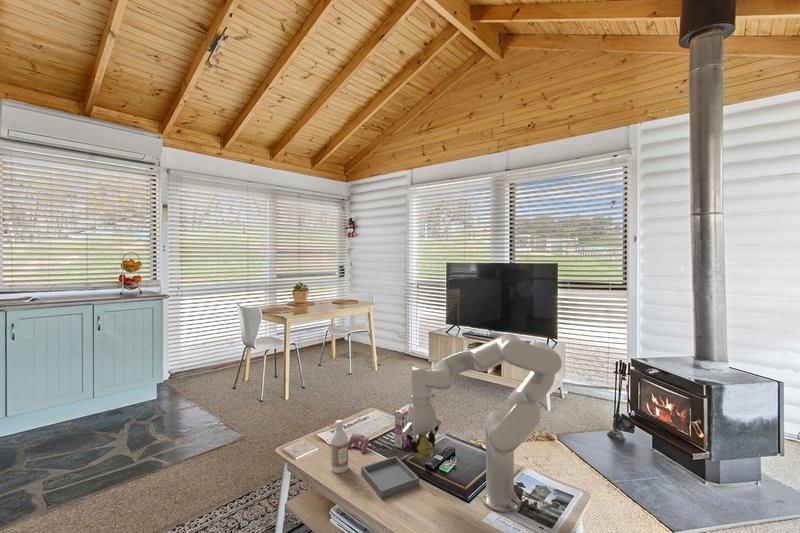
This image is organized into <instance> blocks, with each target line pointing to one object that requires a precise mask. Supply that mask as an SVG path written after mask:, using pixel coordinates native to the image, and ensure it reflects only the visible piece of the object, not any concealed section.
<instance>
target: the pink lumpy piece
mask: <svg viewBox="0 0 800 533" xmlns="http://www.w3.org/2000/svg"><path fill="white" fill-rule="evenodd" d="M369 444H370V439H369V438H368V437H367V436H365V435H363V434H359V433H353V435H351V436H350V438H349V439H348V449H350V448H351V446H353V447H355V448H358V447H359V449H360V450H361V451H360V453H361V454H364V453H365V452H366V451H367V448H368V446H369Z"/></svg>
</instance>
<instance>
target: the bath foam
mask: <svg viewBox="0 0 800 533" xmlns="http://www.w3.org/2000/svg"><path fill="white" fill-rule="evenodd" d="M334 424H335V427H334V428H335V430H334V431H333V433H332V435H331V437H330V464H331V465H330V466H331V467H330V469H331V472H333V473H335V474H342V473H345V472H347V471H348V469H349V448H348V441H349V438H348V435H347V433H346V432H345V430H344V427H343V420H342V419H337V420H335V423H334Z"/></svg>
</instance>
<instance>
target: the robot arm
mask: <svg viewBox="0 0 800 533" xmlns="http://www.w3.org/2000/svg"><path fill="white" fill-rule="evenodd" d="M503 363H507V364H508V365H511V366H514V367H516V368H520V369H524V370H526V371H528V373H527V375H526V376H525V377H524V379H523V380H522V381H520V383H519V384H518V385H517V386H516V387H515V388H514V389H513V391H512V392H511V393H510V394H509V395H508V397H507V398H506V401H505V402H506V403H505V404H506V407H507V408H506V409H507V410H508V412H506V411H504V410H501V409H494V410H492V411H489V413H487V415H486V418H485V422H484V429H485V430H484V433H485V454H486V455H485V471H486V472H485V473H486V474H485V475H486V477H485V481H486V482H485V483H486V484H485V487H486V488H485V489H484V490H483V491H482V493H481V499H482V502H483V504H484V505H486V507H488V508H489V509H491V510H493V511H496V512H501V513H508V512H512V511H515V512H516V513H517V512H519V510H520V507H521V506H522V502H521V501H520V500H519V497H518V495H517V492H516V491H515V456H514V455H515V450H516V449H517V448H518V447H520V445H521V444H522V443H524V441H525V440H526V439H527V437H529V436H530V434H531V433H532V432H533V431H534V430H535V429H536V428H537V426H538V425H539V423H540V420H541V410H540V408H539V404H540V403H541V402H542V400H543V399H544V398H545V397H546V395H547V394H548V393H549V392H550V390H551V389H552V387H553V385H554V382H555V378H556V374H558V373H559V372H560V370H561V369H562V365H563V362H562V358H561V356H560V355H559V353H557V351H556V350H554V349H553V348H552V347H551V346H550V345H549V344H547V343H545V342H543V341H537V342H534V343H533V344H531V343H527V342H525V341H522V340H521V339H520V338H519V336H517V335H515V334H513V333H506V334H505V333H504V334H502V335H500V336H498V337H495V338H493V339H491V340H489V341H487V342H485V343H482V344H481V345H479V346H476V347H473V348H471V349H467V350H463V351H460V352H457V353H453V354H451V355H449V356H447V357H445V358H443V359H440V360H438V361H437V362H436V363H435V364H434V365H433V368H432V367H431V366H430V365H427V364H424V363H423V364H422V363H421V364H415V365H413V366H412V367H411V368H410V388H411V389H410V390H411V392H410V393H411V401H410V402H411V403H409V409H408V416H407V426H406V427H405V428H404V429H403V431H402V433H403V434H404V435H405V437H406V438H408V439H409V445H408V446H409V450H410V451H411V452H412V454H413V453H416V442H415V439H416V438H417V437H418V434H420V433H423V432H427V431H429V433H428V434H427V438H428V439H430V440H431V441H432V443H433V445H432V448H434V447H436V436H437V432H438V431H439V429H440V426H441V424H442V421H441V420H440V419H438V418H437V417H436V416H437V415H436V409H435V408H436V407H435V403H434V401H433V399H434V398H435V394H434V393H433V389H435V390H441V391H442V390H444V391H446V390H448V389H450V388H451V387H452V386H453V384H454V376H457V375H460V374H463V373H464V372H467V371H477V372H485V371H488V370H490V369H493V368H495V367H496V366H499V365H501V364H503ZM408 431H410V433H409V434H408ZM412 435H413V437H412Z"/></svg>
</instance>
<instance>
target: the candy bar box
mask: <svg viewBox="0 0 800 533" xmlns="http://www.w3.org/2000/svg"><path fill="white" fill-rule="evenodd" d="M409 404H410V403H409ZM409 404H406V405H405V406H404V405H403V407H400V408H399V409H397V410H396V411H395V410H394V411H395V412H394V447H395V448H397V449H398V448H399V449H400V450H404V449H405V448H407V447H408V446H409V439H408V438H406V437H405V435H404V434H403V433H402V431H403V429H404V428H405V427H406V426H407V416H408V409H409ZM409 433H410V431H408V434H409ZM412 437H413V435H412Z"/></svg>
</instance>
